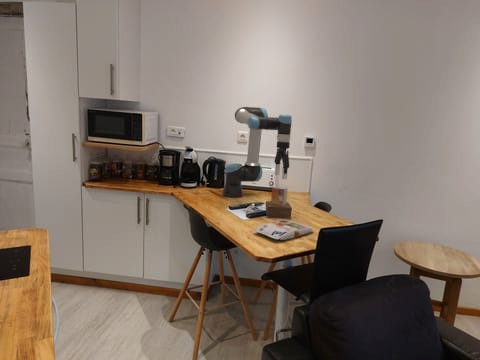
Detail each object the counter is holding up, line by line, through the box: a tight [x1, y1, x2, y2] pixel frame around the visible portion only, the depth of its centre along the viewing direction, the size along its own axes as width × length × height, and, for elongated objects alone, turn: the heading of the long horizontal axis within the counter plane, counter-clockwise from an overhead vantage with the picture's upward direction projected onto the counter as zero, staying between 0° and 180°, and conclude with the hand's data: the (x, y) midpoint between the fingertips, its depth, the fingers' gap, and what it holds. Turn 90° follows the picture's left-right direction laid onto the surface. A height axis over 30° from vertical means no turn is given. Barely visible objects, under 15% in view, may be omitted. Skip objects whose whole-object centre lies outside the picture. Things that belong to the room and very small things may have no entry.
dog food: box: [253, 219, 315, 241], centre depth 186 cm, size 30×18×5 cm, turn 133°
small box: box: [270, 185, 289, 206], centre depth 218 cm, size 8×6×10 cm
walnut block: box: [265, 200, 293, 220], centre depth 219 cm, size 14×14×7 cm
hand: (280, 176), depth 216 cm, fingers open, 13 cm apart
